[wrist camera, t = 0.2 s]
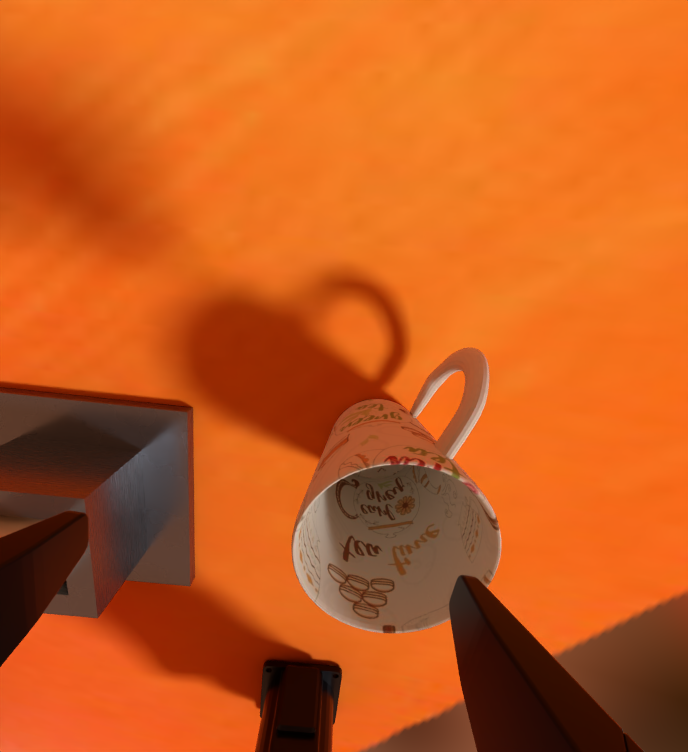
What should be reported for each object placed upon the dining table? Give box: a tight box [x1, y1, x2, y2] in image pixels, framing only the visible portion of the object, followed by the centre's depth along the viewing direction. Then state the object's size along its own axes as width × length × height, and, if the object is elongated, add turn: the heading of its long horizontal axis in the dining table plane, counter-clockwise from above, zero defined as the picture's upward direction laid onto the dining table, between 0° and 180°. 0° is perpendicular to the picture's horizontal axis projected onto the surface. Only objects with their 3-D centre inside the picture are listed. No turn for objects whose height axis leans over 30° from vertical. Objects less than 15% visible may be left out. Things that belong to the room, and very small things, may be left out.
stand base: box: [0, 387, 195, 618], centre depth 21 cm, size 14×14×7 cm
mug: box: [292, 348, 501, 633], centre depth 18 cm, size 8×13×10 cm, turn 152°
